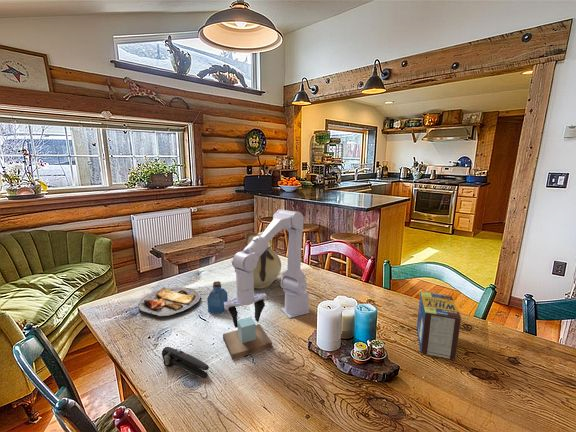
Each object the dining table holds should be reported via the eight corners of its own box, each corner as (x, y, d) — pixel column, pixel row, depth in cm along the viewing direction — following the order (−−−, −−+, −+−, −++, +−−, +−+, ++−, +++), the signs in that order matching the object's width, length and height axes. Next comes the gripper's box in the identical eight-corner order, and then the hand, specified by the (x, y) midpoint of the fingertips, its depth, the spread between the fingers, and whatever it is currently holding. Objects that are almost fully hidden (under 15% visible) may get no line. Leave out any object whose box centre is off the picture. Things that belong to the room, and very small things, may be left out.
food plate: (126, 310, 121) (126, 302, 120) (168, 287, 142) (168, 281, 142) (173, 324, 112) (172, 316, 111) (210, 298, 133) (209, 291, 132)
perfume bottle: (221, 313, 119) (220, 286, 116) (208, 312, 120) (206, 285, 118) (227, 306, 125) (226, 280, 122) (214, 304, 126) (213, 279, 124)
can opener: (156, 366, 90) (155, 350, 89) (174, 352, 96) (173, 337, 95) (199, 386, 82) (198, 369, 81) (215, 370, 88) (214, 354, 87)
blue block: (251, 331, 104) (251, 316, 103) (256, 339, 99) (255, 323, 98) (238, 335, 102) (237, 320, 100) (242, 343, 97) (241, 327, 96)
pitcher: (257, 270, 162) (256, 228, 157) (291, 281, 149) (292, 235, 143) (228, 285, 145) (225, 238, 139) (263, 299, 131) (262, 247, 125)
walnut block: (259, 329, 109) (259, 324, 108) (272, 348, 98) (272, 342, 98) (223, 340, 103) (222, 334, 102) (232, 361, 92) (231, 354, 92)
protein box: (446, 333, 106) (451, 295, 103) (455, 361, 92) (462, 317, 88) (416, 328, 109) (420, 290, 106) (420, 354, 95) (424, 311, 92)
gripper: (261, 278, 103) (262, 312, 106) (220, 286, 96) (222, 322, 99) (268, 286, 97) (269, 322, 99) (226, 295, 90) (228, 333, 93)
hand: (246, 323), depth 99 cm, fingers open, 7 cm apart
